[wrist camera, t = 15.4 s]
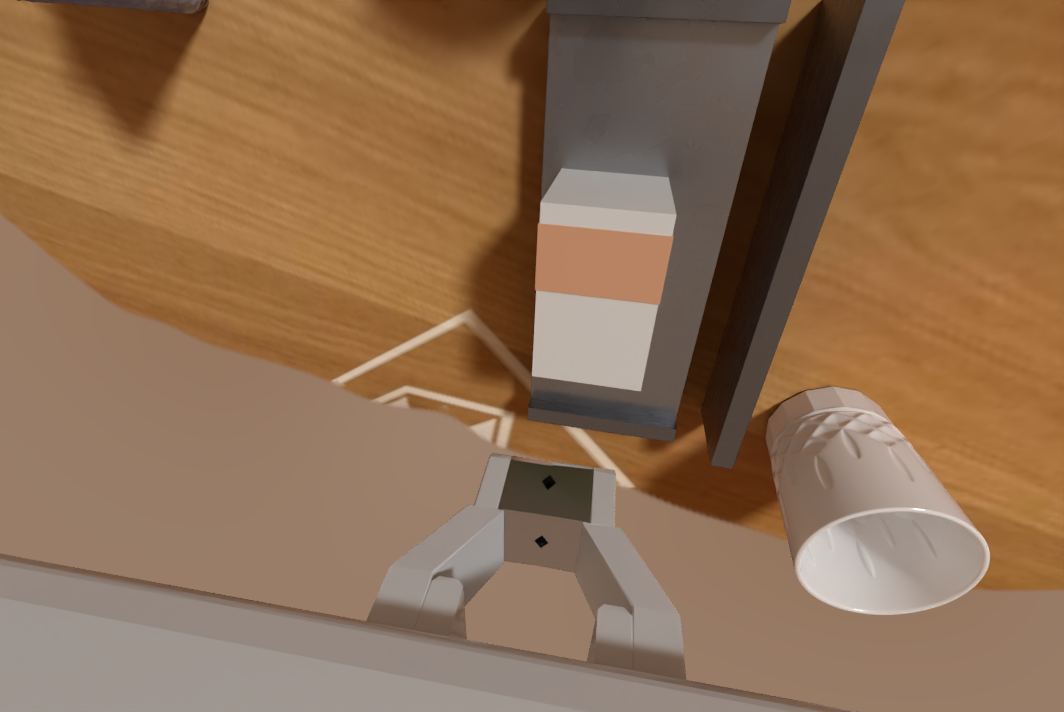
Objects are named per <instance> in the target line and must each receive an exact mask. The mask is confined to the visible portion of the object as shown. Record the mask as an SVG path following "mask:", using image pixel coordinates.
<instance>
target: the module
mask: <svg viewBox="0 0 1064 712" xmlns="http://www.w3.org/2000/svg"><path fill="white" fill-rule="evenodd" d="M676 215H677V214H676V210H675V205H674V200H673V196H672V191H671V186H670V182H669V177H659V176H647V175H635V174H623V173H611V172H599V171H587V170H575V169H563V168H562V169H561V170H560V172H559V174H558V175H557V177H556V178H555V180H554V182H553V183H552V185H551V186H550V188H549V190H548V191H547V193H546V194H545V196H544V197H543V199H542V201H541V204H540V221H539V223H538V234H537V255H536V276H535V290H536V304H535V324H534V344H533V364H532V376H535V377H543V378H550V379H557V380H564V381H571V382H578V383H585V384H592V385H599V386H606V387H613V388H620V389H628V390H635V391H641V388H642V383H643V378H644V373H645V368H646V363H647V358H648V353H649V349H650V344H651V339H652V334H653V329H654V324H655V319H656V314H657V309H658V304H659V305H660V301H661V297H662V292H663V287H664V282H665V277H666V272H667V267H668V262H669V257H670V252H671V248H672V243H673V238H674V236H673V230H674V225H675V220H676Z"/></svg>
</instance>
